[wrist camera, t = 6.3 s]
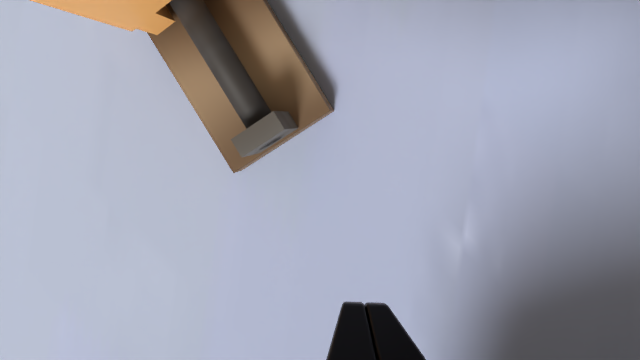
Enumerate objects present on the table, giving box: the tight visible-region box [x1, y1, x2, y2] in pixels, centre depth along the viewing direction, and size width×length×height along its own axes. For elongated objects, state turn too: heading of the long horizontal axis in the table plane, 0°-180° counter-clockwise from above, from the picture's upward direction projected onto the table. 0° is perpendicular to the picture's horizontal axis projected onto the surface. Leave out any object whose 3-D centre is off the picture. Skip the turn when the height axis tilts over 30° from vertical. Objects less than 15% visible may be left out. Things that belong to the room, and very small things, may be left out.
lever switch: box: [147, 0, 334, 173], centre depth 18 cm, size 12×5×5 cm, turn 32°
